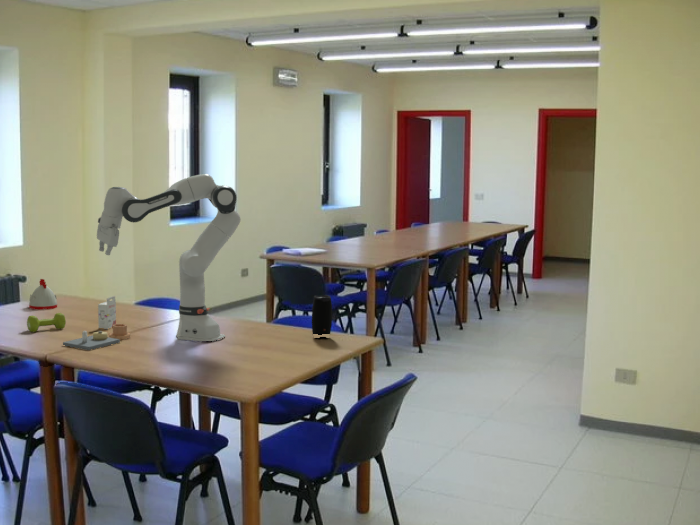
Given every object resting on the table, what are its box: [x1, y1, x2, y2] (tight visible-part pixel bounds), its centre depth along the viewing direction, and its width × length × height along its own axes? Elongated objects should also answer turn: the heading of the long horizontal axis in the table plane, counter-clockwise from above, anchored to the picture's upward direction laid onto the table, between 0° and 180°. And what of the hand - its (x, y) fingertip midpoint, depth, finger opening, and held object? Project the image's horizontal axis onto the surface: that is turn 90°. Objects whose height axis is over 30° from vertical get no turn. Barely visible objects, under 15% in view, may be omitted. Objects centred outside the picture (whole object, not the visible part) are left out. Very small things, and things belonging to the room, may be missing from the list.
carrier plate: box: [62, 330, 121, 351], centre depth 352 cm, size 15×18×6 cm
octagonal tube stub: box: [108, 323, 131, 340], centre depth 367 cm, size 9×9×6 cm
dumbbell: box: [26, 312, 67, 333], centre depth 378 cm, size 16×8×7 cm, turn 131°
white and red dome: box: [28, 278, 58, 311], centre depth 432 cm, size 14×14×15 cm
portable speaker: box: [311, 294, 333, 335], centre depth 379 cm, size 9×9×20 cm
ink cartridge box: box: [97, 295, 117, 330], centre depth 387 cm, size 9×5×15 cm, turn 168°
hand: (104, 253), depth 363 cm, fingers open, 8 cm apart
